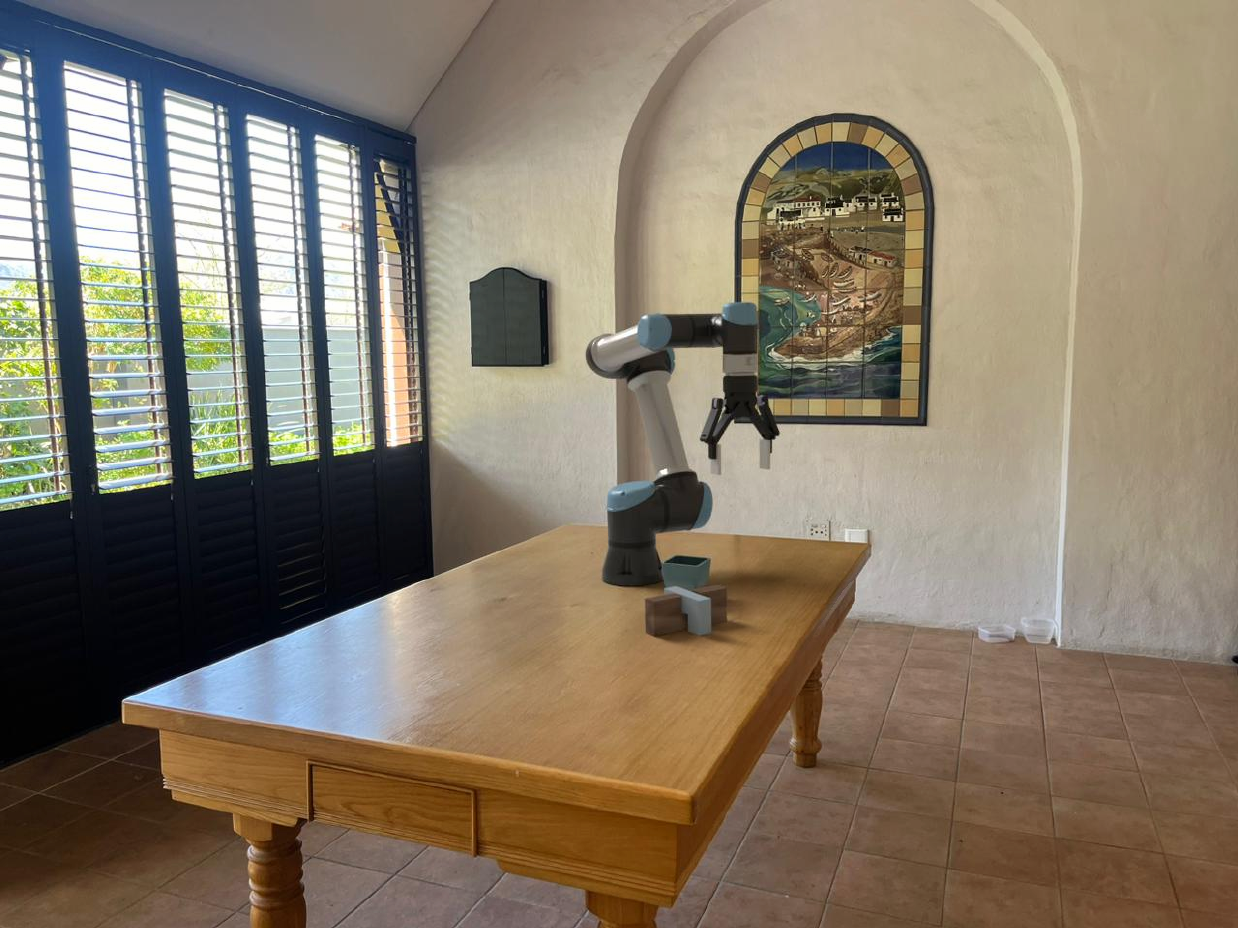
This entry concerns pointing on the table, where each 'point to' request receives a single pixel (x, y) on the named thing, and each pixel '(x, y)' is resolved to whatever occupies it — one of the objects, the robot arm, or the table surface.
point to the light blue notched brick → (694, 610)
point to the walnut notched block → (668, 614)
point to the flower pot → (686, 572)
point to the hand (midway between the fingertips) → (740, 471)
